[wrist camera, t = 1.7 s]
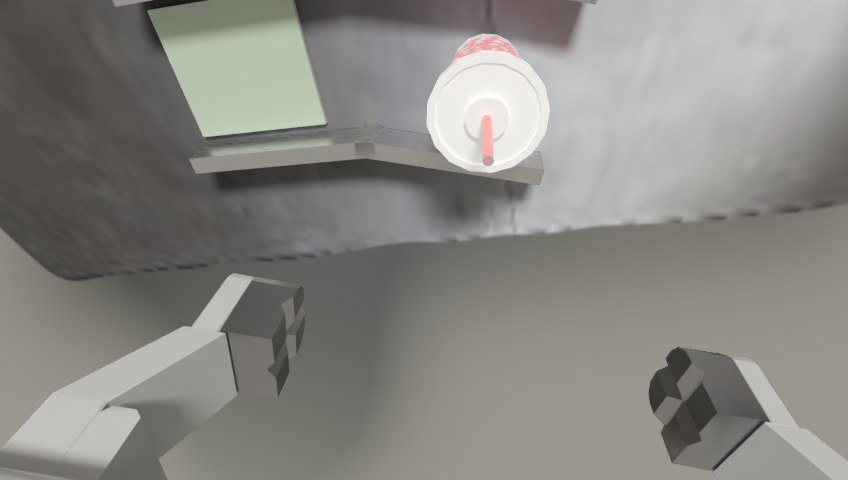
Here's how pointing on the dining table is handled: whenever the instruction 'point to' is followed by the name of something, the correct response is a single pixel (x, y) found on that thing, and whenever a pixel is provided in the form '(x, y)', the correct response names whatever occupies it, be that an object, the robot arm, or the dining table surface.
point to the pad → (241, 64)
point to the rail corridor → (345, 149)
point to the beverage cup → (487, 107)
